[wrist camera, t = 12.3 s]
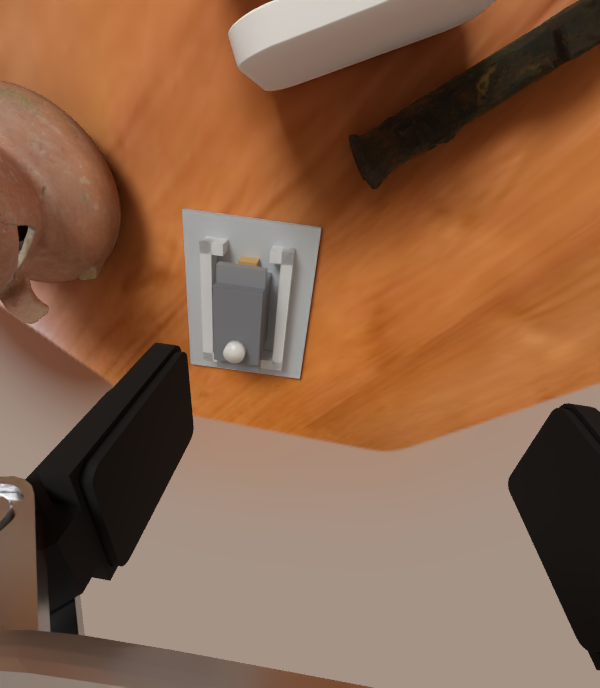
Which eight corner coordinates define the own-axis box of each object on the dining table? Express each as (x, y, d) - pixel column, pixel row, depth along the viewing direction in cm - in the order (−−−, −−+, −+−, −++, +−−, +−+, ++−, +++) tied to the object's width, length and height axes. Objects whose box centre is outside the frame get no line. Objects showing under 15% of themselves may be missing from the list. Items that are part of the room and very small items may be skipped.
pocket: (321, 226, 30) (320, 233, 28) (300, 375, 38) (298, 389, 36) (184, 208, 30) (174, 213, 28) (192, 360, 38) (184, 373, 36)
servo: (273, 256, 31) (261, 279, 26) (265, 350, 36) (255, 385, 31) (228, 250, 31) (208, 272, 26) (227, 345, 36) (210, 379, 31)
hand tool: (365, 188, 28) (371, 196, 24) (344, 138, 27) (347, 138, 23) (632, 42, 23) (697, 21, 19) (628, -33, 21) (698, -73, 17)
